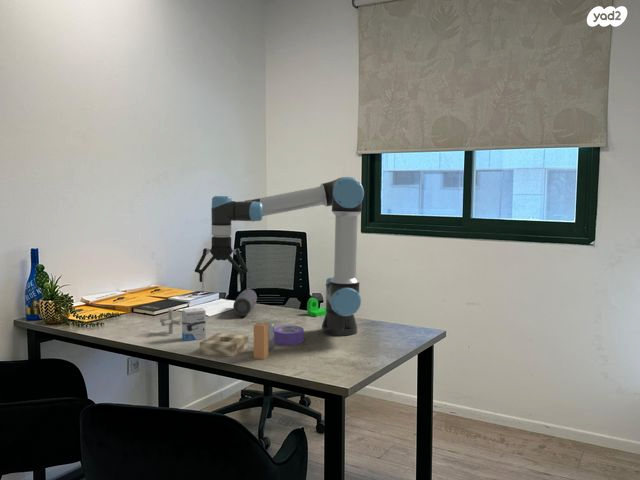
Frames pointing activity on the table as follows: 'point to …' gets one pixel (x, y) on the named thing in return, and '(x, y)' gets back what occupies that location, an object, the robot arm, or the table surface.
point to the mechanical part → (315, 308)
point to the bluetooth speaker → (245, 302)
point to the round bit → (270, 336)
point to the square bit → (261, 340)
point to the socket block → (224, 344)
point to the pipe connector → (170, 321)
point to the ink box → (193, 324)
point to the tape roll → (288, 335)
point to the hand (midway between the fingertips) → (221, 290)
